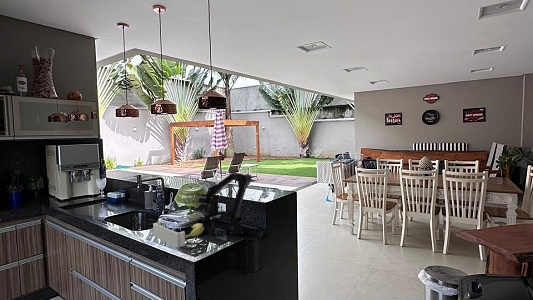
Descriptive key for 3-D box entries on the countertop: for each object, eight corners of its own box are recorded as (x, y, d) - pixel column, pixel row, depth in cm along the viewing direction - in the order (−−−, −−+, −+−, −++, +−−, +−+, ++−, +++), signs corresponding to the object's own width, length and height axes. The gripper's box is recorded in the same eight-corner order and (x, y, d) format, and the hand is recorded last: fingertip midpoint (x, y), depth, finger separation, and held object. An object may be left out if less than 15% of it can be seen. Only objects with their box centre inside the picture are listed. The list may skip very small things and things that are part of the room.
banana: (208, 219, 196) (191, 231, 178) (211, 227, 197) (194, 240, 178) (192, 222, 201) (173, 235, 183) (194, 230, 202) (176, 243, 183)
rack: (185, 245, 167) (184, 226, 167) (177, 247, 164) (177, 228, 163) (160, 234, 188) (160, 217, 188) (153, 236, 185) (153, 218, 184)
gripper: (218, 201, 207) (218, 223, 207) (195, 205, 194) (195, 228, 194) (228, 203, 199) (228, 226, 200) (204, 208, 186) (205, 232, 186)
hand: (214, 228), depth 195 cm, fingers closed
